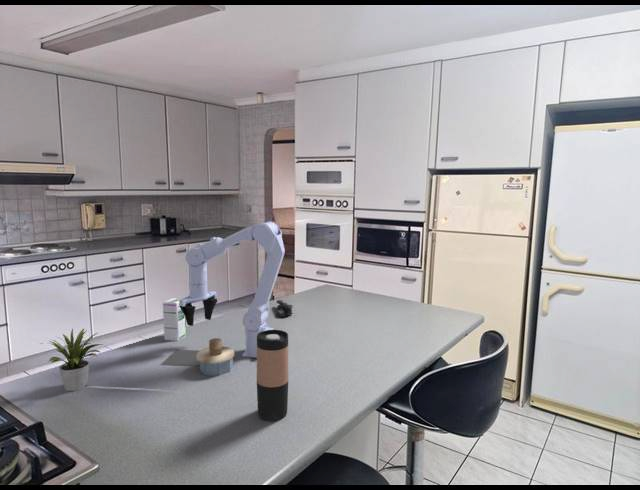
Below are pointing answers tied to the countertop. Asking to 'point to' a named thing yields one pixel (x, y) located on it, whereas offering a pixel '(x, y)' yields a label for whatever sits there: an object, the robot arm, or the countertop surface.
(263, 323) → the robot arm
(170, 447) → the countertop surface
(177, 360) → the mat
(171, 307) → the syrup box
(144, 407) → the countertop surface
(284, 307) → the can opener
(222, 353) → the lid
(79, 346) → the house plant
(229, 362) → the bowl
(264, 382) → the travel mug
